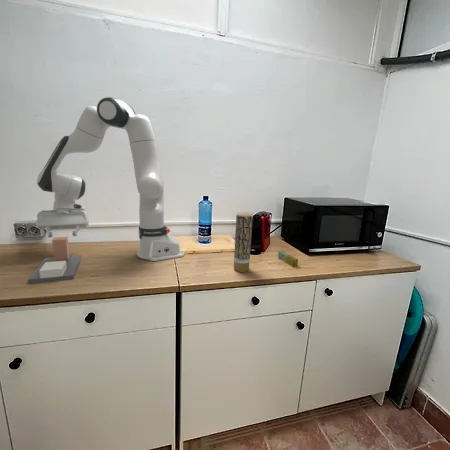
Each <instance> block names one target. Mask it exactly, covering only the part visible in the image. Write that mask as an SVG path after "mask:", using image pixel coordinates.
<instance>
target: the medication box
mask: <svg viewBox="0 0 450 450" xmlns="http://www.w3.org/2000/svg"><path fill="white" fill-rule="evenodd" d="M277 255H278V257H277V258H278V259H279V260H280V261H282V262H283V263H285V264H287V265H289V266H290V267H292V268H296V267H298V264H299V262H298V261H299V259H298V258H297V257H295V256H293V255H291V254H289V253H288V252H285V251H284V250H279V251H278V254H277Z"/></svg>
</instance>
